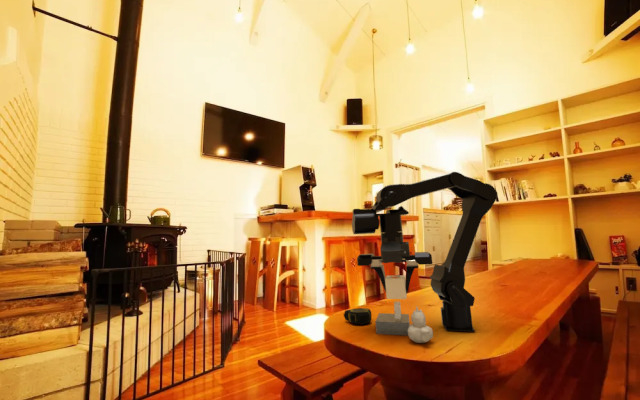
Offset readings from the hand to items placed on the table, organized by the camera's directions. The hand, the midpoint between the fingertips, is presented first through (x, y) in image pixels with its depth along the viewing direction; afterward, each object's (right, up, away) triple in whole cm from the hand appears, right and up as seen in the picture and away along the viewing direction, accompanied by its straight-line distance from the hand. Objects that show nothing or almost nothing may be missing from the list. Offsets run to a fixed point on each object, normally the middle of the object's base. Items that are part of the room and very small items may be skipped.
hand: (396, 292), depth 74 cm
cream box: (0, -1, 0) cm, 1 cm away
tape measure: (-9, -12, +8) cm, 17 cm away
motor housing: (-1, -10, 0) cm, 10 cm away
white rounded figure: (+3, -8, -10) cm, 13 cm away
